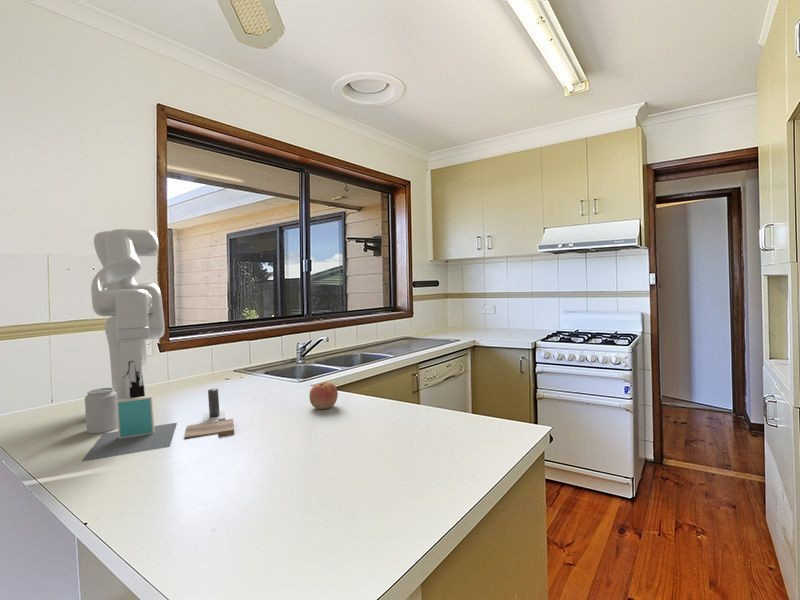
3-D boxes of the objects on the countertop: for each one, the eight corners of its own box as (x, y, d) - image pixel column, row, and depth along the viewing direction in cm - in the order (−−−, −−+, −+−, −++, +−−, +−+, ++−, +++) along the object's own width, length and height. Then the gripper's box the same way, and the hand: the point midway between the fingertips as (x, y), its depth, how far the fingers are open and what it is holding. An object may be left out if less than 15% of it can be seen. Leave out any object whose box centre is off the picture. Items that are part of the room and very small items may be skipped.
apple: (342, 408, 133) (341, 383, 133) (316, 414, 128) (315, 388, 128) (330, 402, 140) (329, 378, 140) (305, 407, 135) (304, 382, 135)
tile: (120, 436, 113) (118, 399, 112) (155, 431, 116) (152, 395, 115) (118, 438, 111) (116, 401, 110) (153, 433, 114) (151, 397, 113)
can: (102, 436, 115) (99, 393, 114) (80, 435, 116) (77, 393, 116) (125, 427, 122) (123, 386, 122) (104, 426, 124) (101, 386, 123)
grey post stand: (204, 417, 130) (202, 388, 129) (225, 413, 132) (223, 385, 132) (203, 424, 122) (201, 394, 122) (225, 421, 125) (223, 391, 124)
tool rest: (187, 429, 118) (187, 425, 118) (233, 422, 123) (232, 418, 123) (184, 442, 109) (184, 437, 109) (234, 433, 114) (234, 429, 113)
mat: (103, 436, 115) (103, 433, 115) (177, 425, 122) (177, 422, 122) (81, 464, 97) (81, 461, 97) (169, 449, 104) (169, 446, 104)
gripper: (122, 333, 121) (127, 396, 121) (110, 338, 107) (115, 409, 108) (152, 330, 124) (156, 392, 124) (144, 335, 110) (149, 405, 111)
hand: (137, 400), depth 116 cm, fingers closed
